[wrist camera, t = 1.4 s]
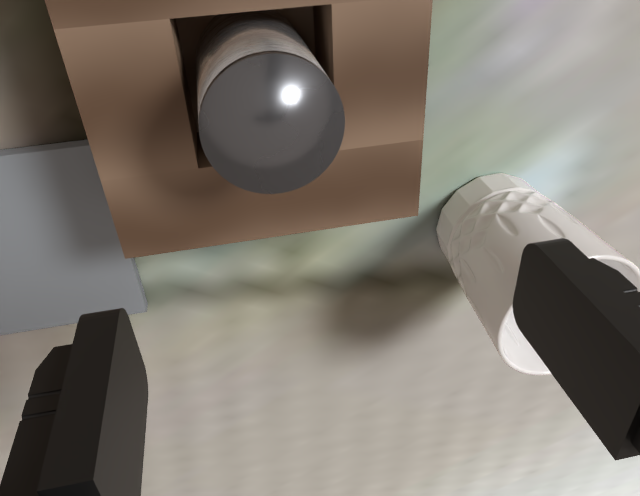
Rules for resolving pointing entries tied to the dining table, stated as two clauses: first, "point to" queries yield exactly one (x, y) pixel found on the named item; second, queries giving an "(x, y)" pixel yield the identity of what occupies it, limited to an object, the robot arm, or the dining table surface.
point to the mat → (59, 241)
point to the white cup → (509, 253)
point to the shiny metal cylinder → (264, 103)
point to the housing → (183, 130)
